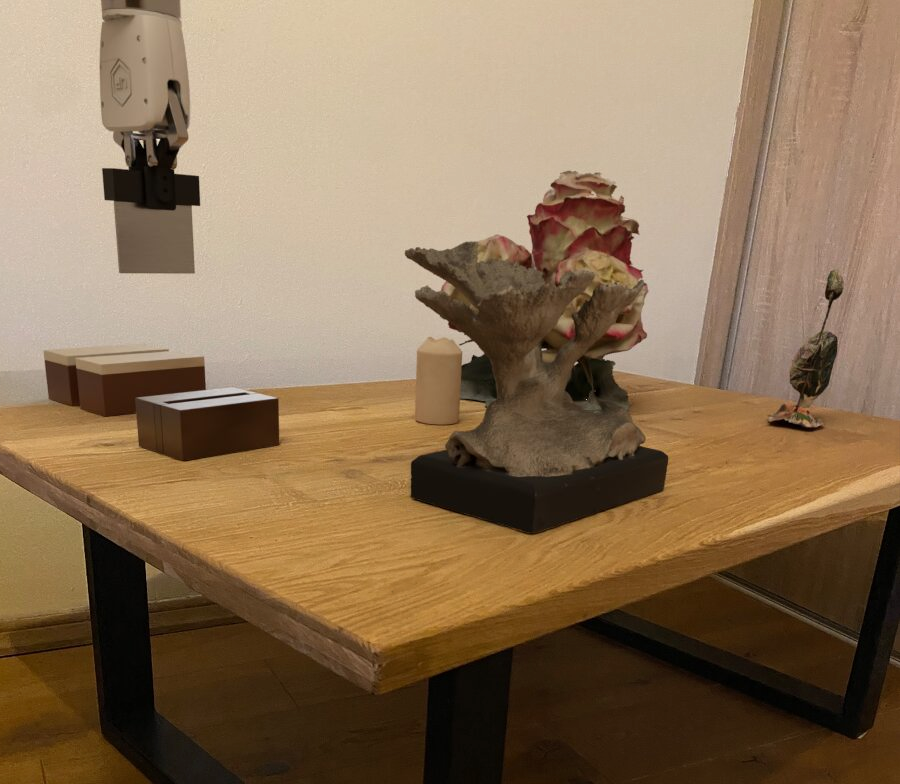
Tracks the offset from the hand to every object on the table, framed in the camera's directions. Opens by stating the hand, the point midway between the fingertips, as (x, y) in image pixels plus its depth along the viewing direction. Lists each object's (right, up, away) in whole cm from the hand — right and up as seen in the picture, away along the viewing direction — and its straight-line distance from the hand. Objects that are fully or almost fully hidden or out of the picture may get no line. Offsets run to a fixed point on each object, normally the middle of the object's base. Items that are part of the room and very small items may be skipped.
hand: (153, 207), depth 98 cm
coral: (+37, -31, -11) cm, 50 cm away
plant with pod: (+79, -18, +28) cm, 85 cm away
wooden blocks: (-9, -16, +19) cm, 27 cm away
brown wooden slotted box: (+6, -25, -1) cm, 26 cm away
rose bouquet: (+46, -14, +33) cm, 58 cm away
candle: (+30, -19, +18) cm, 40 cm away
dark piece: (0, -6, +2) cm, 7 cm away
